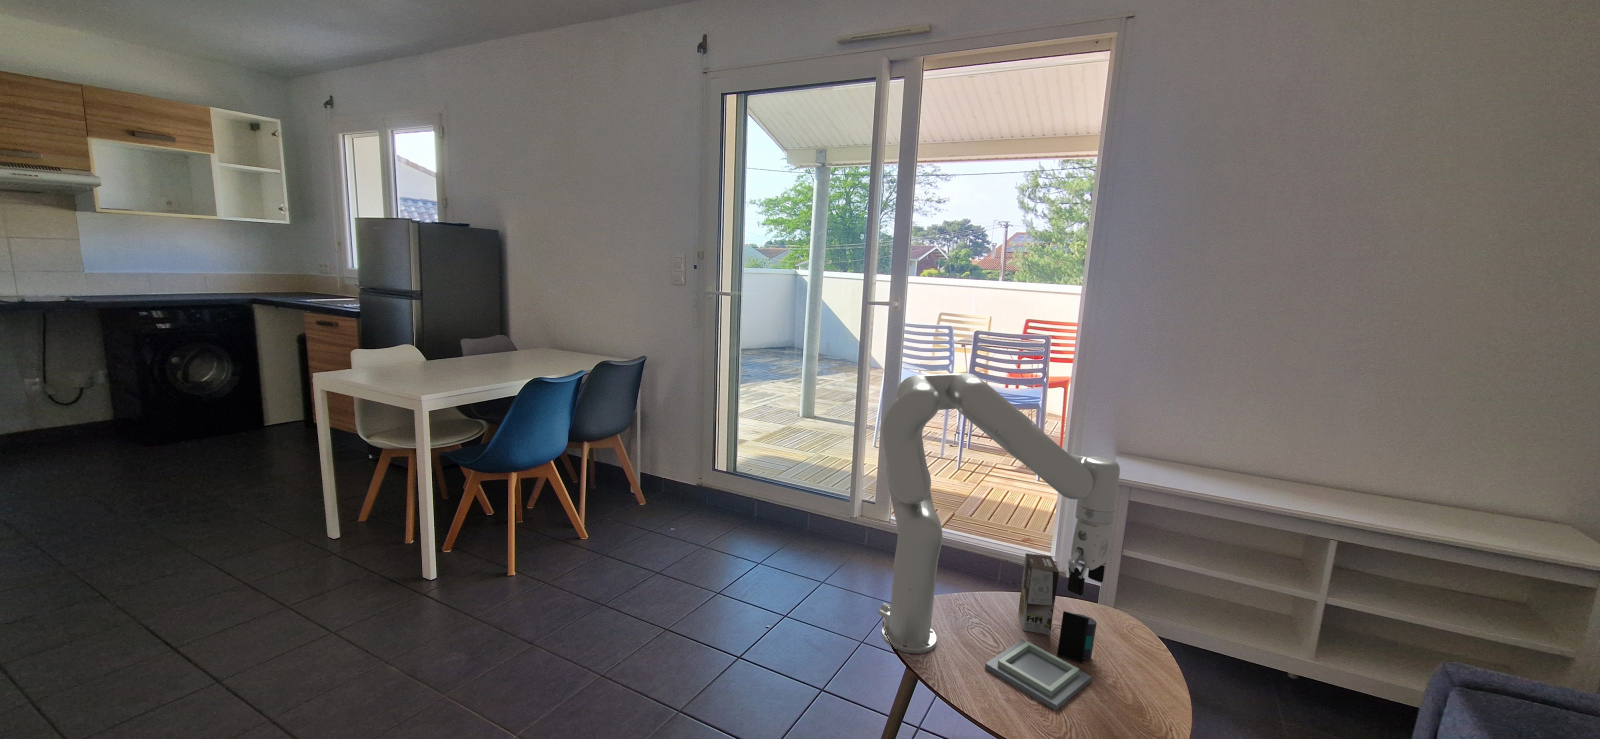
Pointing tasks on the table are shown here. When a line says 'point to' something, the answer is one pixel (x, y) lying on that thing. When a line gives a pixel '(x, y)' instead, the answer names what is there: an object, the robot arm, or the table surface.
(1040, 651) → the dock
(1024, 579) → the coffee box
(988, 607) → the table surface
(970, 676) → the table surface
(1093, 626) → the speaker
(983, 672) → the table surface
